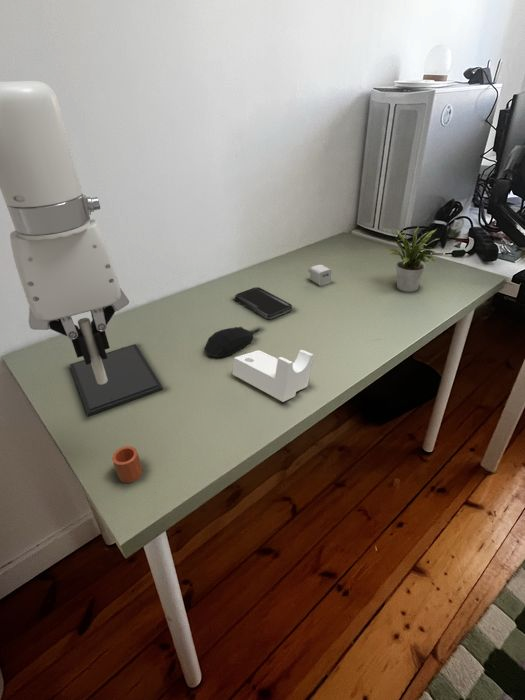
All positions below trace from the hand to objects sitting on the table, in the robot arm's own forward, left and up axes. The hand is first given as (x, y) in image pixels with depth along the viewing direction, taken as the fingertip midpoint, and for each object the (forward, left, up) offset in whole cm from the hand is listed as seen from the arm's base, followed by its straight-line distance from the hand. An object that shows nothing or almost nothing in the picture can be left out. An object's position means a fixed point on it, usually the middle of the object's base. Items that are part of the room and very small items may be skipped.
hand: (94, 356), depth 57 cm
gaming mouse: (+30, +22, -20) cm, 42 cm away
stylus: (0, 0, -5) cm, 5 cm away
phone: (+44, +34, -20) cm, 59 cm away
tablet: (+4, +24, -20) cm, 31 cm away
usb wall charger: (+64, +38, -20) cm, 77 cm away
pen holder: (0, -2, -20) cm, 20 cm away
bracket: (+30, +6, -20) cm, 36 cm away
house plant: (+79, +21, -20) cm, 84 cm away
